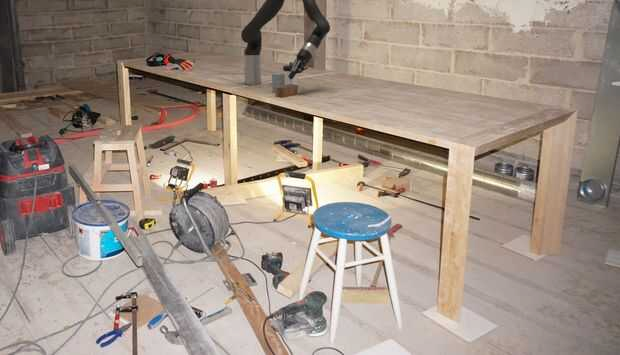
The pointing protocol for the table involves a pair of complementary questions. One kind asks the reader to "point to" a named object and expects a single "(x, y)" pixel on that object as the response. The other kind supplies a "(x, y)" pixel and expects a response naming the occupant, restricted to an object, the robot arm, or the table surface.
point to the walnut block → (286, 90)
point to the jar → (287, 71)
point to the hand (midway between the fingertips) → (290, 78)
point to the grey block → (278, 80)
